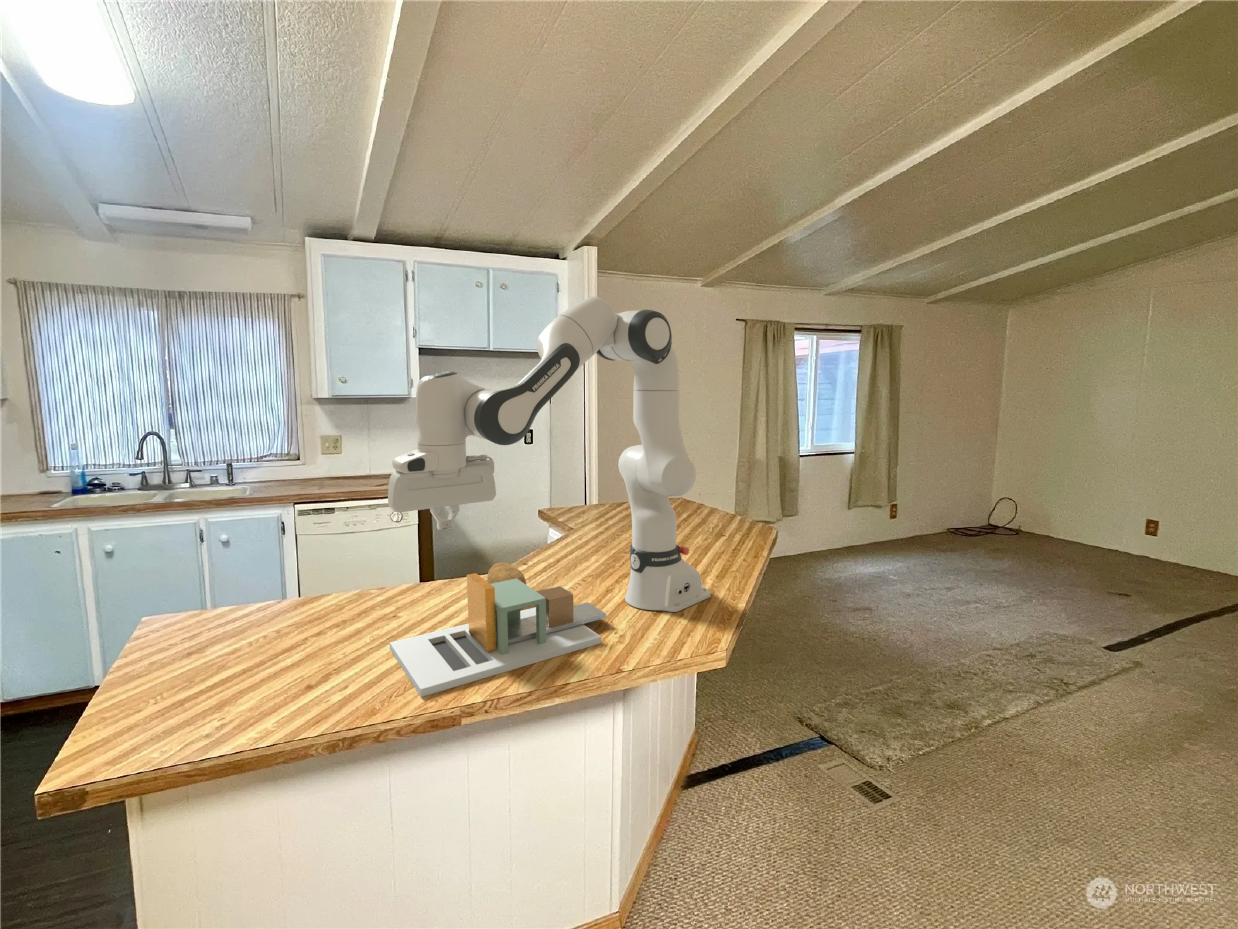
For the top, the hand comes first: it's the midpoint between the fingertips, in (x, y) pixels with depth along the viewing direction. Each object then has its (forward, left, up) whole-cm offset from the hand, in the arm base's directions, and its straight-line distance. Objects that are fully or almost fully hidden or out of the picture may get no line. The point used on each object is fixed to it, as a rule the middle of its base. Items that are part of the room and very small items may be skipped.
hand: (445, 528), depth 115 cm
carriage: (-20, 0, -25) cm, 32 cm away
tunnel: (-13, 0, -25) cm, 28 cm away
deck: (-10, 0, -27) cm, 29 cm away
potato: (-23, -24, -27) cm, 43 cm away
